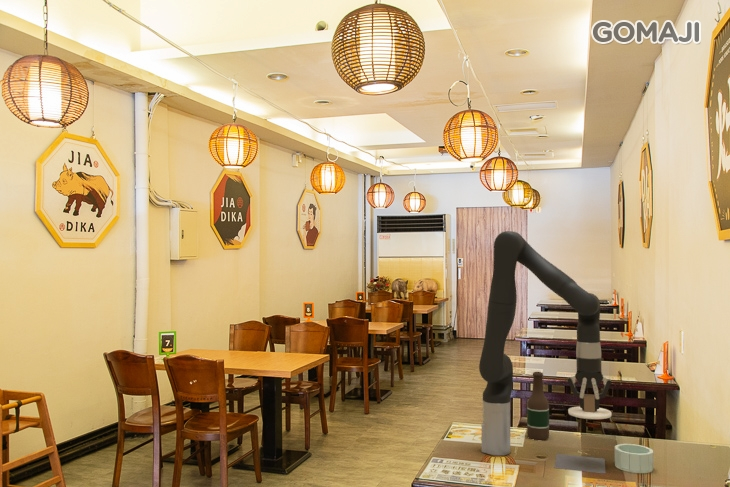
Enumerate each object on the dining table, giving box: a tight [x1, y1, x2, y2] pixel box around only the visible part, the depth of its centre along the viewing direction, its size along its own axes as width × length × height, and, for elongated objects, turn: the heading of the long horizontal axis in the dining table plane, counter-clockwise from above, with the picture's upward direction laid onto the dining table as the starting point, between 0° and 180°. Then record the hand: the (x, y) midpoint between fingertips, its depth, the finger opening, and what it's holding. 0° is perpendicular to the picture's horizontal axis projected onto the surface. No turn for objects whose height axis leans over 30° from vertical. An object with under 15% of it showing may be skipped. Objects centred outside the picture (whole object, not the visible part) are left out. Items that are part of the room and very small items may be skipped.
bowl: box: [614, 443, 654, 474], centre depth 198 cm, size 11×11×6 cm
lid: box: [567, 393, 612, 420], centre depth 201 cm, size 13×13×6 cm
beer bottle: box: [526, 371, 550, 441], centre depth 231 cm, size 8×8×24 cm
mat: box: [554, 453, 606, 474], centre depth 201 cm, size 15×15×1 cm
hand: (589, 409), depth 201 cm, fingers closed on lid, 3 cm apart
